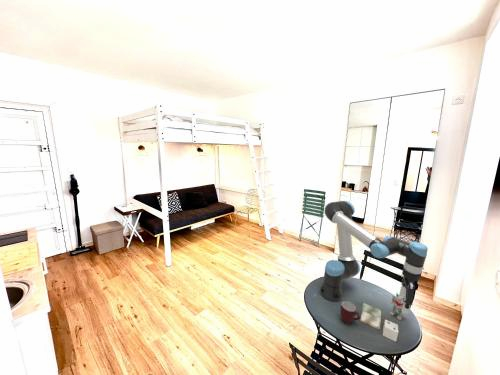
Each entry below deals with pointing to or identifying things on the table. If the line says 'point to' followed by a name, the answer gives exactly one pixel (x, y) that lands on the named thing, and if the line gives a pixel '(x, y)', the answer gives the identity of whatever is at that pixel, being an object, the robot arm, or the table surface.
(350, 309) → the mug
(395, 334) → the die
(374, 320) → the board
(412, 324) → the table surface
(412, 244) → the robot arm
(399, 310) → the figurine
